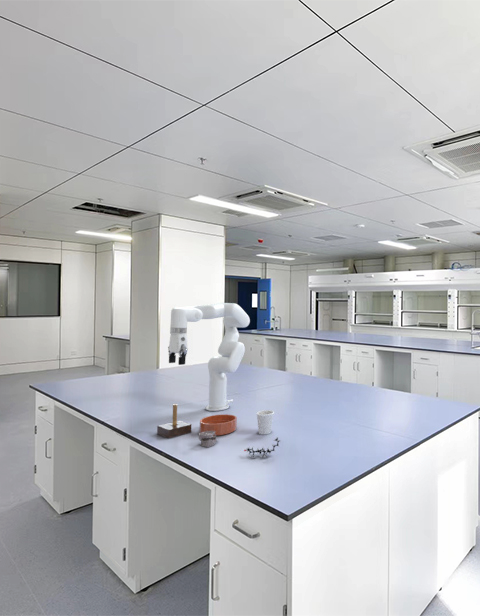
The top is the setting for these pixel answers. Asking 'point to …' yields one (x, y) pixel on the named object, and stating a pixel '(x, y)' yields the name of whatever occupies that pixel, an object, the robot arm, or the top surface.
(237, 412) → the top surface
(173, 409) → the light wooden dowel
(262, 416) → the dixie cup
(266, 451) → the molecular model
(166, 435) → the holder
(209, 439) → the dental mold
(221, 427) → the mixing bowl
